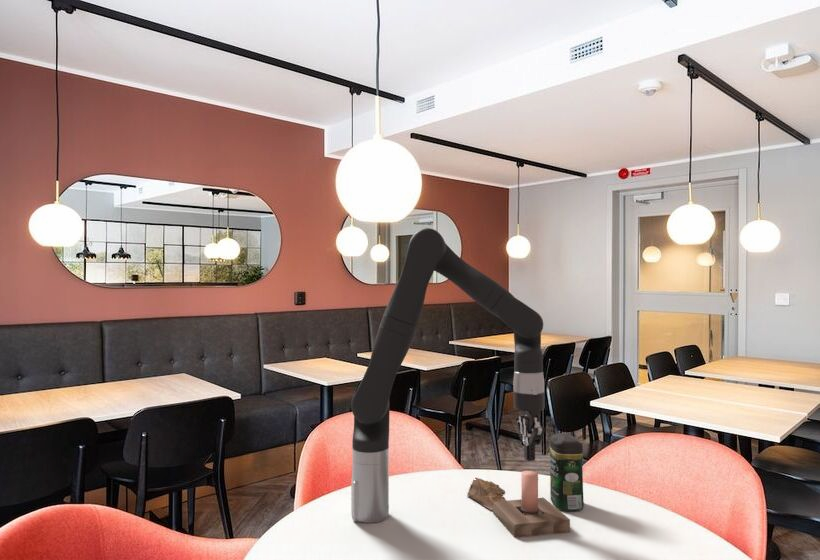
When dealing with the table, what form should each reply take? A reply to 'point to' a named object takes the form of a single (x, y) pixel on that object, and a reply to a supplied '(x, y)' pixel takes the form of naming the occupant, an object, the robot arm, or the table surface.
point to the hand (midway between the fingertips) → (529, 460)
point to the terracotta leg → (529, 493)
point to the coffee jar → (566, 472)
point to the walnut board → (531, 518)
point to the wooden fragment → (485, 493)
